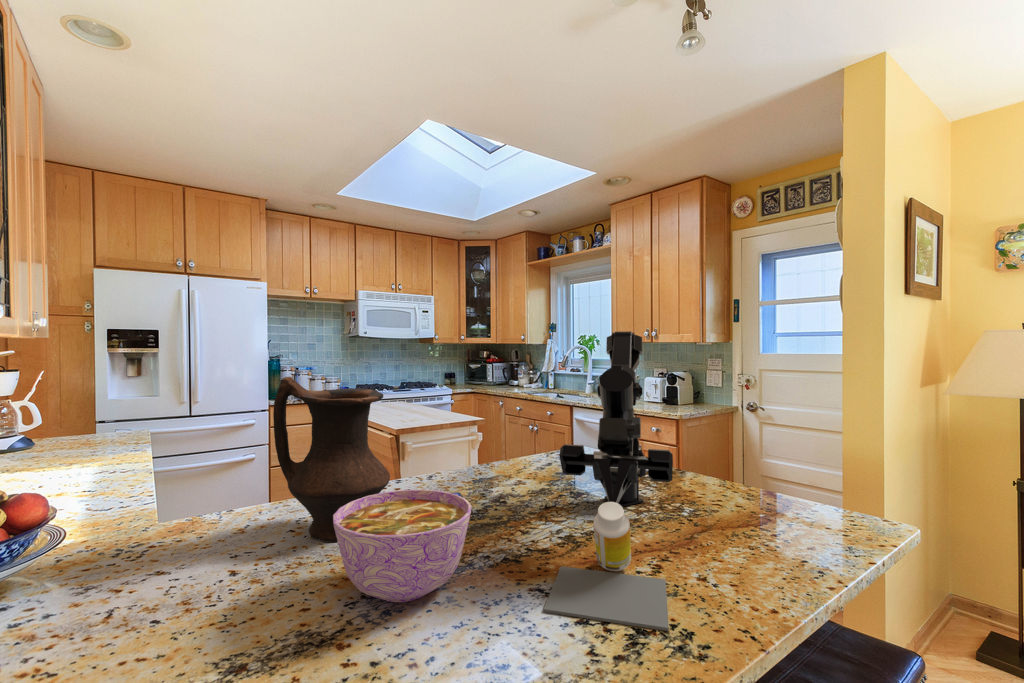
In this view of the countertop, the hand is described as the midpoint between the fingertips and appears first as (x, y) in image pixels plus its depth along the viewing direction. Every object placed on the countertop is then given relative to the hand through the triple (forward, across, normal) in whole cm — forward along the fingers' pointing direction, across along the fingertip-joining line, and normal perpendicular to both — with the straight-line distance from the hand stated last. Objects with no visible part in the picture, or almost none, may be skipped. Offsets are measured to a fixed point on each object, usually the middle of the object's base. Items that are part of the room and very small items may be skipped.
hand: (612, 506), depth 77 cm
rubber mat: (+13, 0, +2) cm, 13 cm away
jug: (+6, -53, +9) cm, 54 cm away
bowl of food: (+18, -29, -2) cm, 34 cm away
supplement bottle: (+5, 0, +8) cm, 9 cm away
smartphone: (-9, -37, +22) cm, 44 cm away
